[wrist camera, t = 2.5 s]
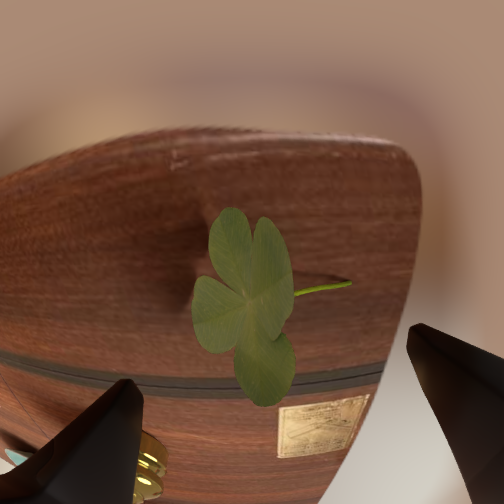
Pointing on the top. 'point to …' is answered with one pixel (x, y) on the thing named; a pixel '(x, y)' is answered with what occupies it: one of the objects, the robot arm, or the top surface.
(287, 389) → the green clover leaf
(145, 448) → the brass weight
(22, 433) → the top surface
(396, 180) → the top surface
